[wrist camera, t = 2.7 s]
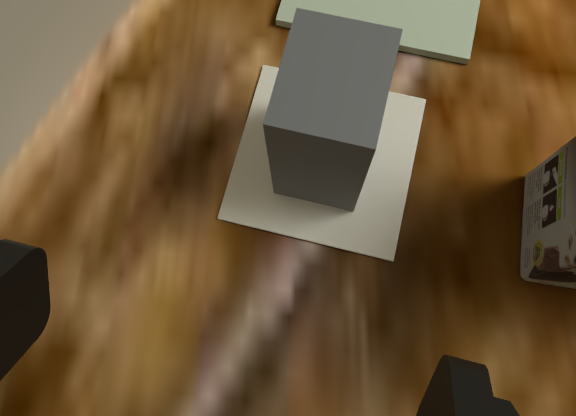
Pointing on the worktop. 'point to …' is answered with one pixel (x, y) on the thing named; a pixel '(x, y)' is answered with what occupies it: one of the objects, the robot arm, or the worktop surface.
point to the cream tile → (317, 217)
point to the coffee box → (550, 220)
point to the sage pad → (406, 22)
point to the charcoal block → (328, 106)
